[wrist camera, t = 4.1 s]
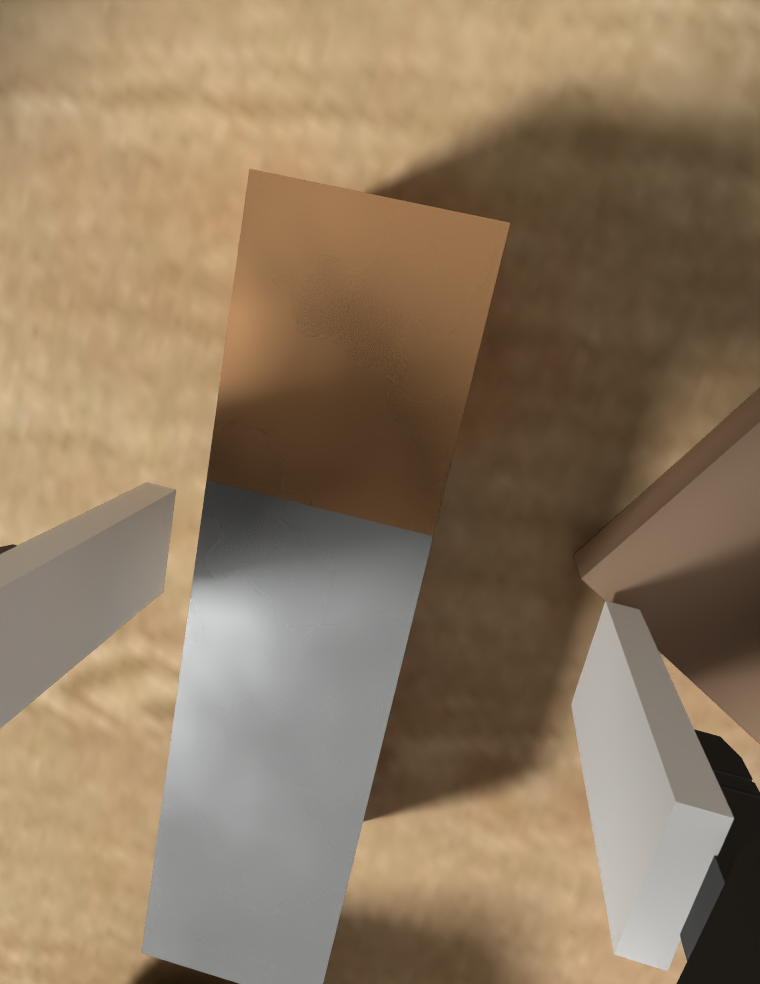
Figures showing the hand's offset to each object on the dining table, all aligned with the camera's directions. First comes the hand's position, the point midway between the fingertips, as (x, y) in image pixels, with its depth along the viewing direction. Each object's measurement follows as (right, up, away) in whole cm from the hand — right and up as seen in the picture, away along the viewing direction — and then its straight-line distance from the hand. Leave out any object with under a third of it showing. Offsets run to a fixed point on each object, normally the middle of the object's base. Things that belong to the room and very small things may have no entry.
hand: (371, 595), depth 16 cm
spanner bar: (-1, +1, +2) cm, 2 cm away
